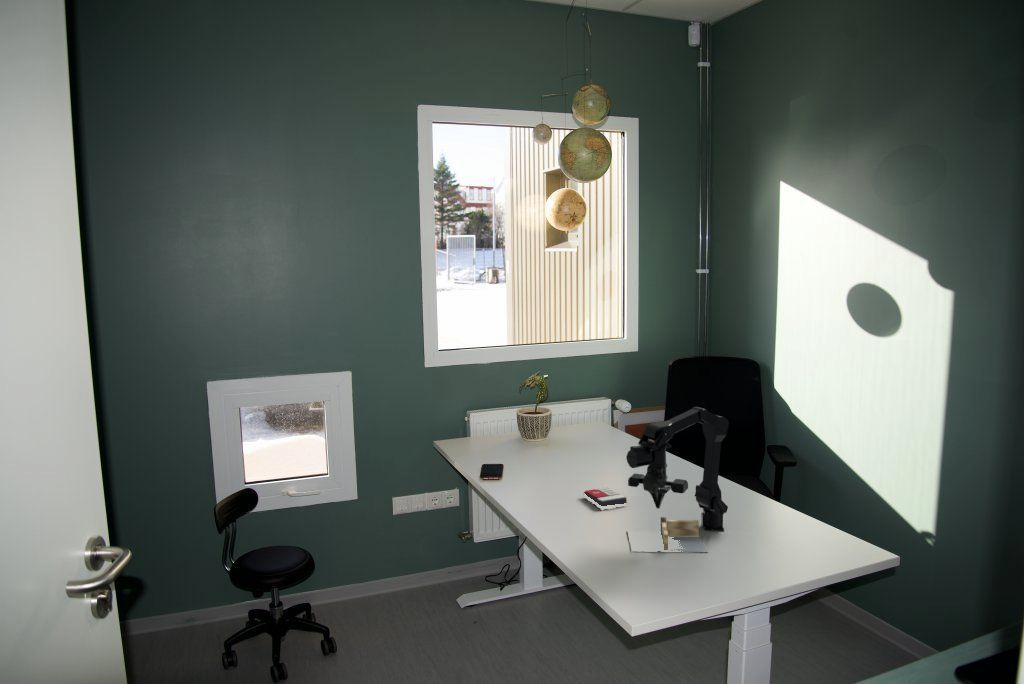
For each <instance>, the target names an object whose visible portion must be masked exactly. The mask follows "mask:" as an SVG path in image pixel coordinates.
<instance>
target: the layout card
mask: <svg viewBox="0 0 1024 684" xmlns="http://www.w3.org/2000/svg"><path fill="white" fill-rule="evenodd" d="M669 537H674V538H672V539H674V540H678V541H679V540H680V541H679V542H680V543H679V542H678V543H679V545H680V544H681V545H680V546H682V547H683V549H676V550H678V551H680V550H681V552H682V551H683V552H703V553H702V554H708V553H707V552H708V550H707V548H706V546H705V543H704V541H703V540H702V538H701V535H700V534H699V536H669ZM669 544H670V543H669ZM680 546H679V547H680ZM682 547H681V548H682ZM684 548H685V549H684ZM670 550H671V549H670ZM674 550H675V549H674ZM671 551H673V550H671ZM705 552H706V553H705Z"/></svg>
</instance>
